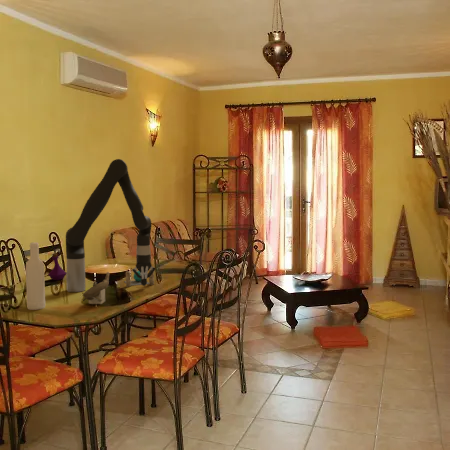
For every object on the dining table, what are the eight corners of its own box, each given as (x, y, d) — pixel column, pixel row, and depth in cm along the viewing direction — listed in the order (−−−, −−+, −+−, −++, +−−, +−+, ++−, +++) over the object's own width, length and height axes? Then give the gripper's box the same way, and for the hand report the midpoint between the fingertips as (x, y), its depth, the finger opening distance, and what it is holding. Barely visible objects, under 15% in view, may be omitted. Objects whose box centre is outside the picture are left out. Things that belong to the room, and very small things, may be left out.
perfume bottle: (47, 279, 302) (47, 249, 301) (57, 277, 309) (56, 247, 307) (57, 281, 299) (56, 250, 297) (67, 278, 305) (66, 248, 304)
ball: (135, 279, 293) (134, 269, 296) (132, 283, 298) (131, 273, 301) (145, 279, 296) (145, 269, 298) (142, 283, 300) (142, 273, 303)
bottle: (47, 305, 243) (45, 241, 240) (42, 309, 235) (40, 243, 232) (30, 305, 243) (28, 241, 240) (24, 310, 235) (22, 243, 232)
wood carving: (117, 293, 269) (117, 271, 268) (95, 310, 234) (95, 286, 233) (100, 292, 270) (100, 271, 268) (76, 310, 235) (75, 285, 234)
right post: (150, 285, 289) (149, 270, 288) (148, 284, 291) (148, 270, 290) (154, 284, 290) (154, 270, 289) (153, 283, 292) (153, 269, 291)
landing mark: (128, 285, 287) (128, 285, 287) (123, 281, 298) (123, 281, 298) (150, 284, 292) (150, 283, 292) (144, 280, 303) (144, 279, 303)
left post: (126, 287, 284) (126, 272, 283) (125, 286, 286) (125, 271, 285) (131, 286, 285) (131, 272, 284) (130, 285, 287) (130, 271, 286)
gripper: (153, 251, 285) (153, 283, 286) (129, 253, 280) (130, 285, 281) (157, 253, 278) (157, 285, 280) (133, 255, 273) (133, 287, 274)
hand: (143, 285), depth 280 cm, fingers closed
